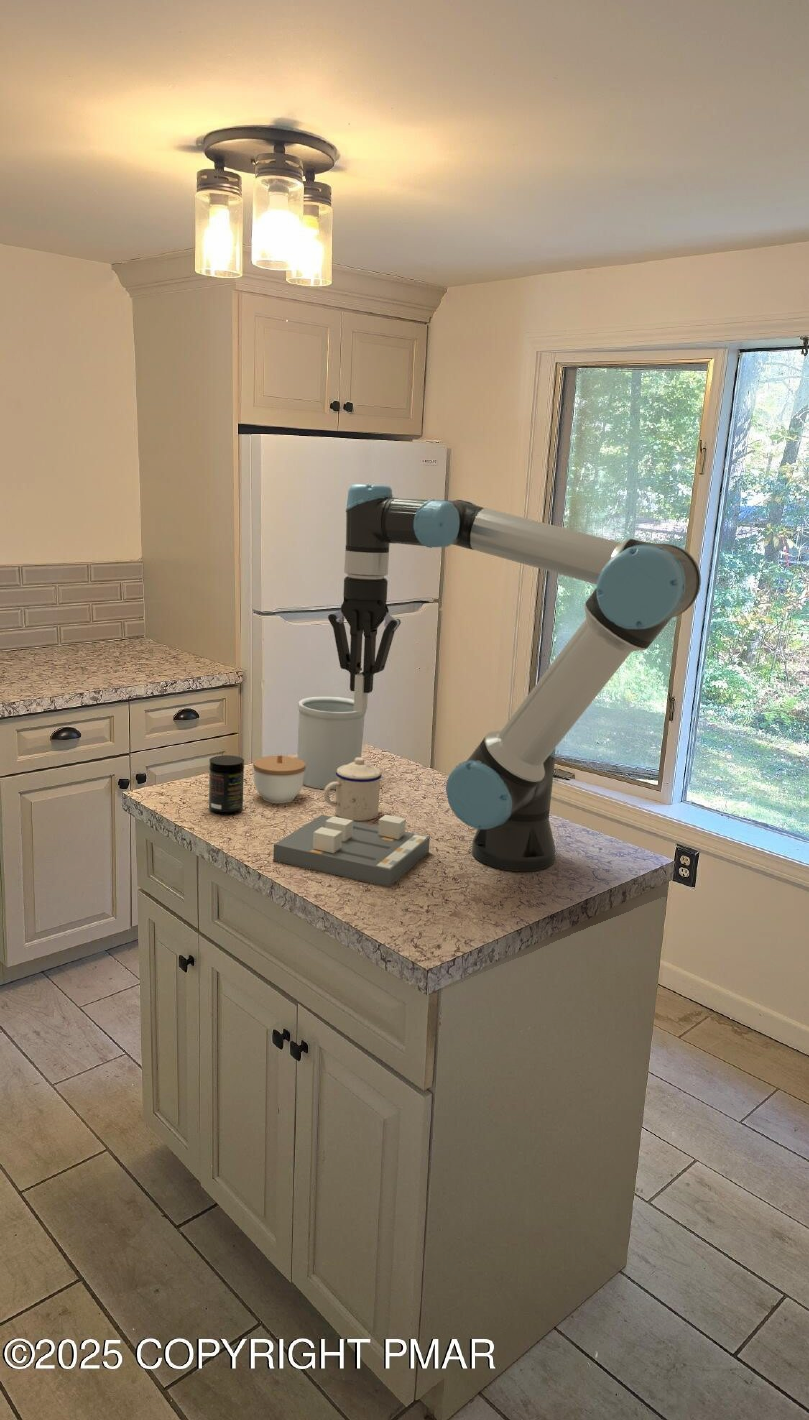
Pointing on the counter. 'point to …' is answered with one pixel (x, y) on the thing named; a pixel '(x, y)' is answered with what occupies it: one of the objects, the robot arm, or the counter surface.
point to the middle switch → (341, 826)
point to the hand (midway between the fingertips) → (360, 709)
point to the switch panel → (354, 853)
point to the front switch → (327, 840)
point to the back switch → (391, 826)
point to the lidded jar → (279, 778)
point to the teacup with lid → (356, 791)
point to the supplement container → (226, 784)
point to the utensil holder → (328, 737)
